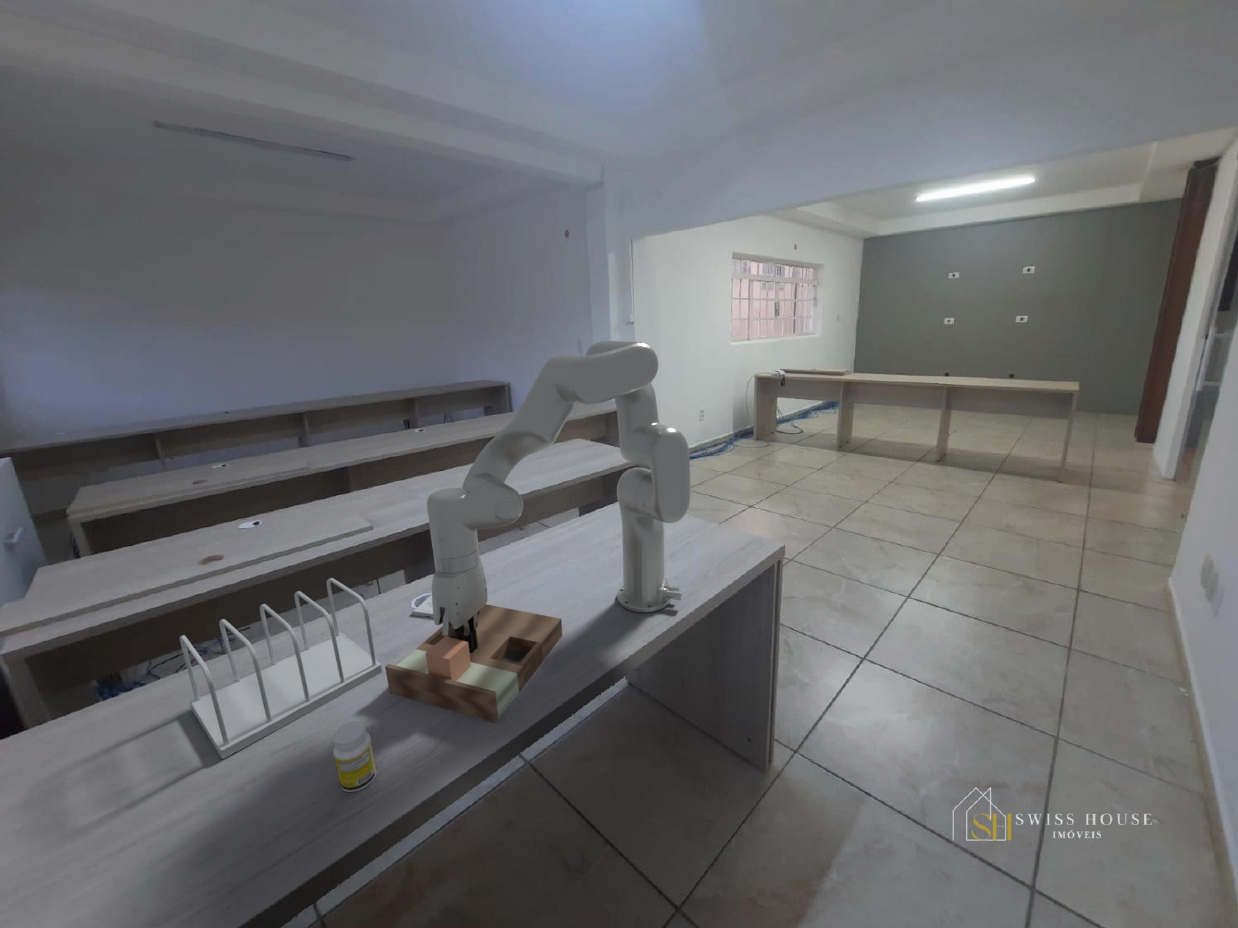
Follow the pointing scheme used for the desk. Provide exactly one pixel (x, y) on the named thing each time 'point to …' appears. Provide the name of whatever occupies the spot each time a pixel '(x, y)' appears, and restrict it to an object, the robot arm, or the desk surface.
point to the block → (448, 658)
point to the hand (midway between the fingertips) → (468, 649)
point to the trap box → (482, 664)
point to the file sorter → (279, 680)
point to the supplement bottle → (354, 756)
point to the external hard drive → (424, 608)
